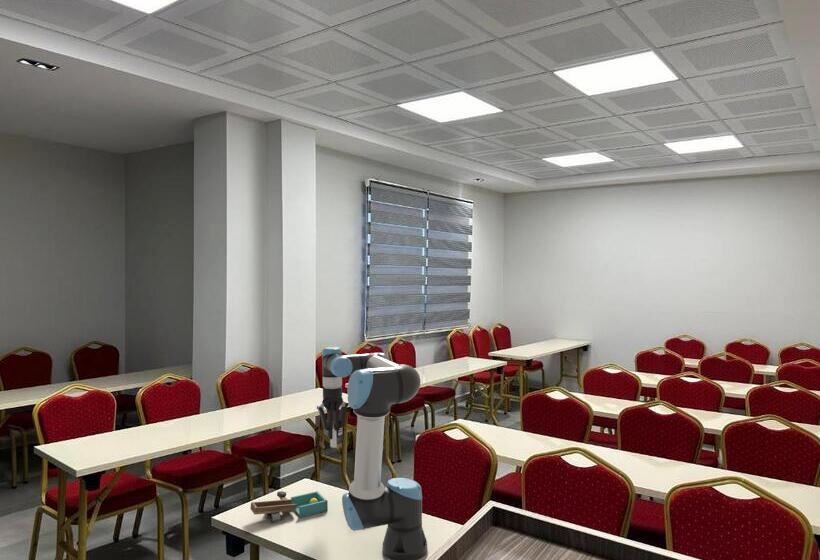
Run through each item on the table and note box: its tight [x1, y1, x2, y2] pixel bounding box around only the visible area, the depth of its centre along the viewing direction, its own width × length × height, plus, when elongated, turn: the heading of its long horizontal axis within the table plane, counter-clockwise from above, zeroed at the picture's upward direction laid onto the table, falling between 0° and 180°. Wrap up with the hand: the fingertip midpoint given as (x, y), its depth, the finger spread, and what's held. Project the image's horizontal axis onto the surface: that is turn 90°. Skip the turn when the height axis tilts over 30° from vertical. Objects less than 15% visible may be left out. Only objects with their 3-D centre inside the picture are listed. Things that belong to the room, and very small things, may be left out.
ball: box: [310, 498, 318, 504], centre depth 221 cm, size 3×3×3 cm
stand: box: [264, 512, 283, 524], centre depth 213 cm, size 10×4×3 cm, turn 31°
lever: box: [249, 491, 297, 516], centre depth 218 cm, size 17×17×4 cm
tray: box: [290, 490, 329, 518], centre depth 220 cm, size 11×11×4 cm
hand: (333, 446), depth 219 cm, fingers closed
